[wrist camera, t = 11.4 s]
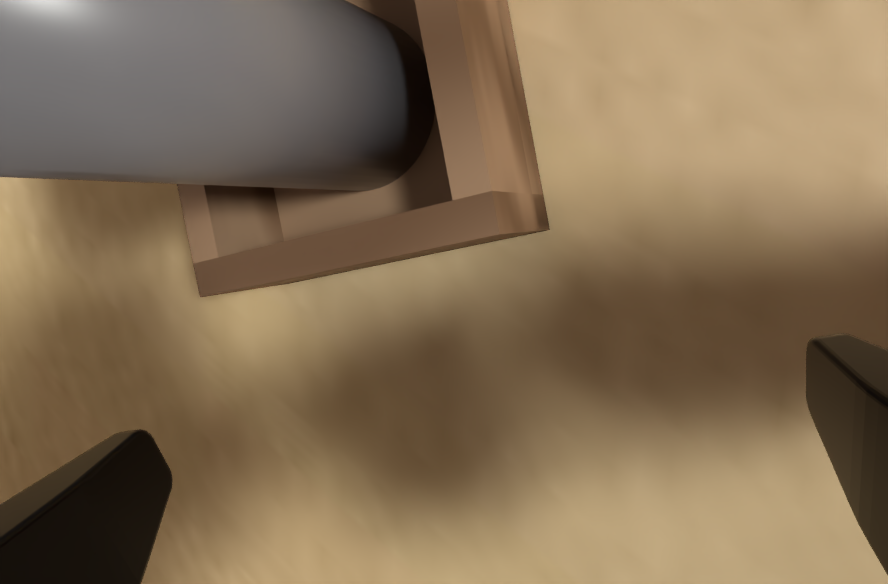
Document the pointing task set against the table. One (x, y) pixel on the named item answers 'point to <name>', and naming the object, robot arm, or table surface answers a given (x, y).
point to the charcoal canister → (210, 93)
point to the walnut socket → (414, 193)
